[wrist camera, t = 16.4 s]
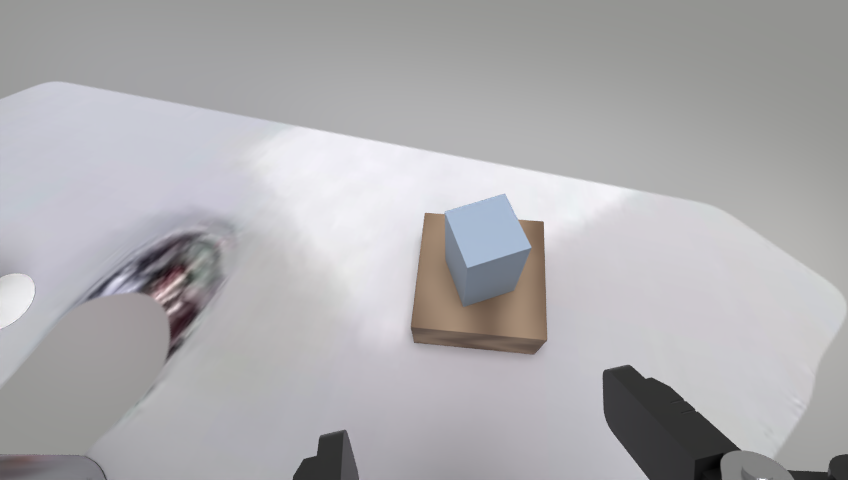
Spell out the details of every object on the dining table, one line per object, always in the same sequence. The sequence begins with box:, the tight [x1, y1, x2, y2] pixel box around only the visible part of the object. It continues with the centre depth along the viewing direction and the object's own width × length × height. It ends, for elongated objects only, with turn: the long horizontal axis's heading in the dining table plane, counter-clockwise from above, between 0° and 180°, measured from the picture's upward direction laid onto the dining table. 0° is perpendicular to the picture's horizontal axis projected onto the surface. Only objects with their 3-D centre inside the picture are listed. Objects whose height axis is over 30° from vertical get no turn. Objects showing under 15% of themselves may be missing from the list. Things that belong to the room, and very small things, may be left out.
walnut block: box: [411, 213, 547, 354], centre depth 42 cm, size 12×12×6 cm
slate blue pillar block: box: [445, 194, 532, 307], centre depth 35 cm, size 5×5×9 cm
